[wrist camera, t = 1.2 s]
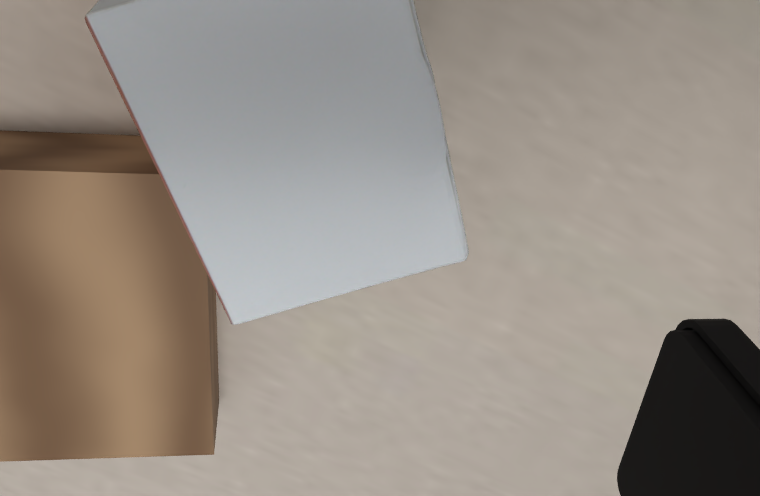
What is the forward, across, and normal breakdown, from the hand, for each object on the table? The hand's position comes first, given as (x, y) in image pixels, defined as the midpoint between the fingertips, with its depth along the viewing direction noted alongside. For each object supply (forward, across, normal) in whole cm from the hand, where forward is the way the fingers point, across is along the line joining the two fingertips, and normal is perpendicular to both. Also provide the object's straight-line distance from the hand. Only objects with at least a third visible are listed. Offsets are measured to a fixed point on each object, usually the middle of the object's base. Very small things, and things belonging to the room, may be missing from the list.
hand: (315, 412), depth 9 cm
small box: (+21, 0, 0) cm, 21 cm away
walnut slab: (+21, +10, +11) cm, 26 cm away
